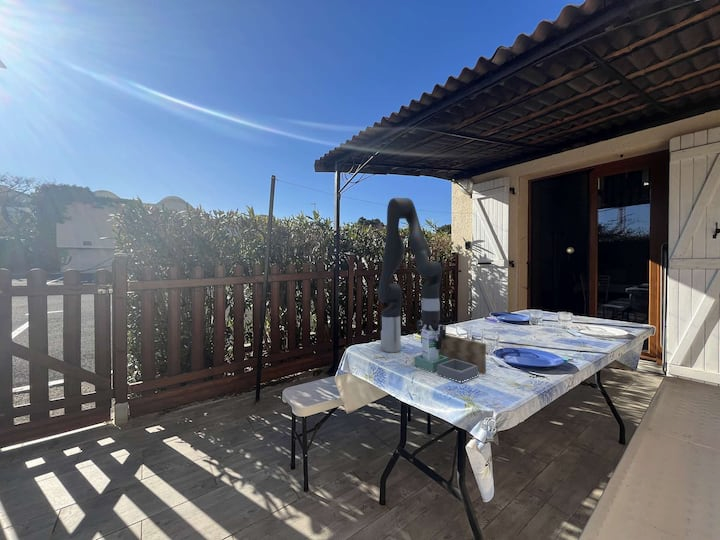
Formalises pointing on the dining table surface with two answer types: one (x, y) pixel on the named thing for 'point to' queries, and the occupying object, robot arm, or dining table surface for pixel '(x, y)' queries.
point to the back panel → (465, 351)
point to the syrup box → (429, 346)
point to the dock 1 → (429, 362)
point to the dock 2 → (450, 372)
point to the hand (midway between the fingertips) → (431, 347)
